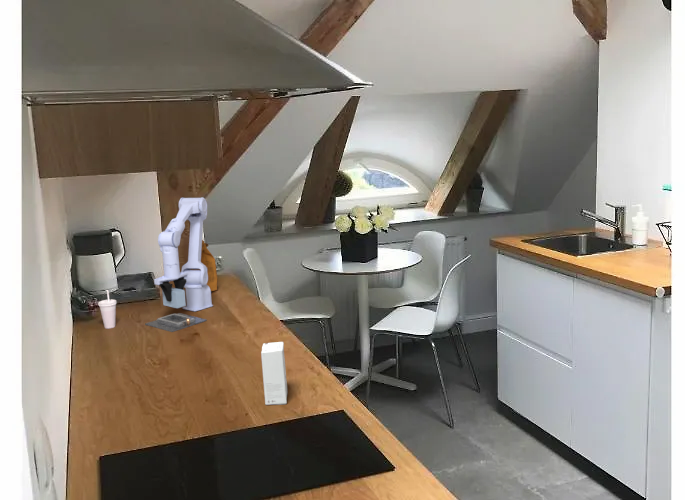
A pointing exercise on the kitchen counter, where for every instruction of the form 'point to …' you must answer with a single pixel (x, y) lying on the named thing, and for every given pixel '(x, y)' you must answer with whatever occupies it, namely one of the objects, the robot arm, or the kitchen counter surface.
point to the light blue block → (175, 298)
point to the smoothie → (108, 311)
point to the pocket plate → (175, 322)
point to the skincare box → (274, 373)
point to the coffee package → (209, 266)
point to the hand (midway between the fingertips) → (174, 299)
